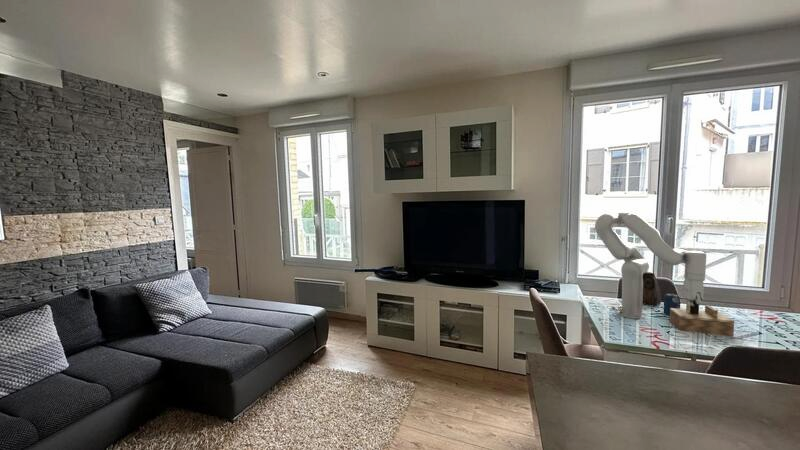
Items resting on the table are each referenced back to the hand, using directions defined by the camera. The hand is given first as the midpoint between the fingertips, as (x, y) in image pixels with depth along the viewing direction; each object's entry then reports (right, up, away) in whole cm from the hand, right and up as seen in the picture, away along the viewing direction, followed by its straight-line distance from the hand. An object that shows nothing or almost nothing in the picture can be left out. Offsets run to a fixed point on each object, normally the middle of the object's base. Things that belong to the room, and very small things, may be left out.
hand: (692, 312), depth 159 cm
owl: (+11, -5, +40) cm, 42 cm away
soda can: (+6, -7, +19) cm, 21 cm away
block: (0, -8, +1) cm, 8 cm away
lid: (+3, -2, -1) cm, 3 cm away
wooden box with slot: (+3, -9, -1) cm, 9 cm away
